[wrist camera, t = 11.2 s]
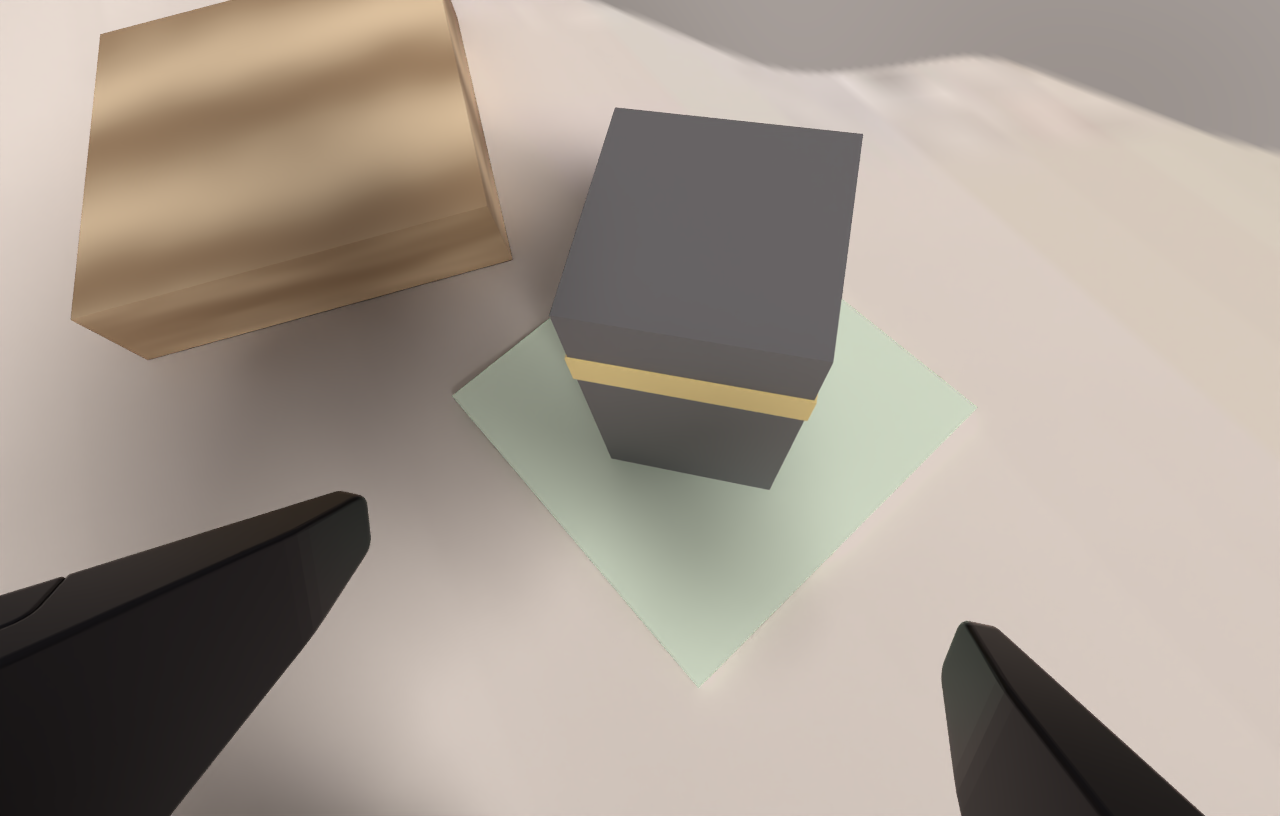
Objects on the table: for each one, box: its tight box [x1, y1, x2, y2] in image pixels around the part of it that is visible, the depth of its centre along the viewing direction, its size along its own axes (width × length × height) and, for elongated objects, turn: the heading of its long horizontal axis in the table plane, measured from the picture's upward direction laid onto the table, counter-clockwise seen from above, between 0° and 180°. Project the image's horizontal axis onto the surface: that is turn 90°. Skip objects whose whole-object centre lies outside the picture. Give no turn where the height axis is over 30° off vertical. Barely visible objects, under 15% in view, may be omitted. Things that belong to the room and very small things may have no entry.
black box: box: [549, 108, 863, 490], centre depth 16 cm, size 5×5×9 cm
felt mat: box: [452, 299, 978, 688], centre depth 20 cm, size 12×12×1 cm
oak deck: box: [71, 0, 512, 360], centre depth 24 cm, size 14×14×3 cm
